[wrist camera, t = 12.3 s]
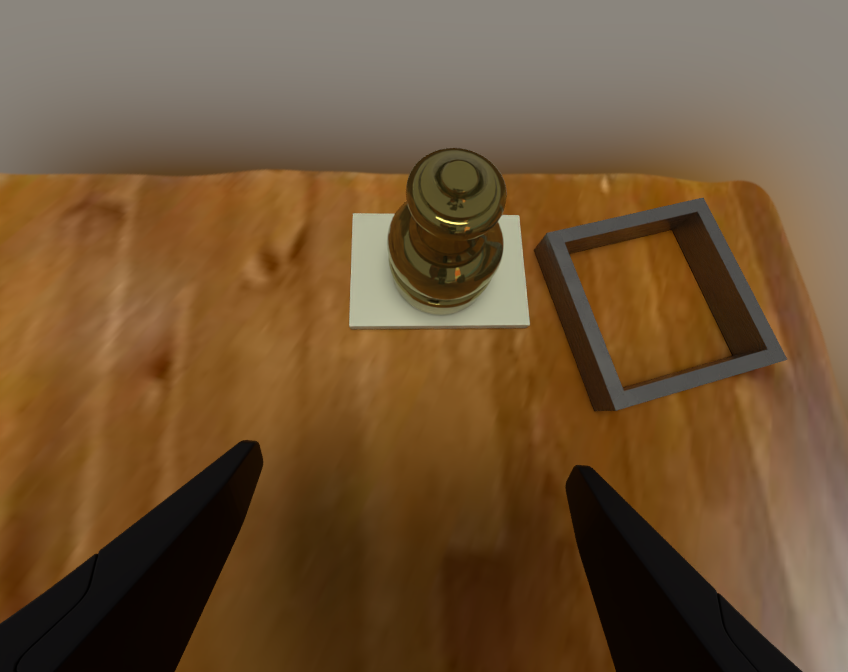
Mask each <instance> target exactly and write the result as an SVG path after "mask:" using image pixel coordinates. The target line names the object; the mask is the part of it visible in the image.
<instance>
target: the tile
mask: <svg viewBox="0 0 848 672" xmlns="http://www.w3.org/2000/svg"><path fill="white" fill-rule="evenodd" d="M394 215H395V214H357V213H353V229H352V259H351V289H350V319H349V327H350V328H351V329H442V328H527V327H528V326H529V325H530V322H529V312H528V301H527V291H526V281H525V271H524V261H523V251H522V241H521V230H520V220H519V215H502V216H501V218H500V219H499V221H498V222H499V224H500V227H501V230H502V233H503V239H504V251H503V257H502V261H501V263H500V266H499V268H498V270H497V272H496V273H495V275H494V276H493V277H492V279H491V281H490V283H489V285H488V286H487V288H486V289H485V290H484V291H483V292H482V294H481V295H480V297H479V298H478V299H477V300H476V301H475V302H474V303H473V304H472V305H470V306H469V307H467V308H466V309H464V310H462V311H459V312H456V313H452V314H446V315H437V314H430V313H426V312H423V311H421V310H419V309H417V308H415V307H413V306H412V305H410V304H409V303H408V302H407V301H406V300H405V299H404V298H403V297H402V296H401V295H400V294H399V292H398V291H397V289H396V287H395V285H394V282H393V279H392V275H391V270H390V266H389V255H388V250H387V233H388V229H389V225H390V223H391V220H392V218H393V216H394Z"/></svg>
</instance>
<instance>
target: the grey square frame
mask: <svg viewBox="0 0 848 672" xmlns="http://www.w3.org/2000/svg"><path fill="white" fill-rule="evenodd" d="M668 230H673V232H674V235H675V237H676V239H677V241H678V243H679V245H680V247H681V249H682V251H683V253H684V255H685V257H686V259H687V261H688V264H689V266H690V268H691V270H692V272H693V274H694V276H695V278H696V280H697V282H698V284H699V286H700V288H701V290H702V293H703V295H704V297H705V299H706V301H707V303H708V305H709V307H710V309H711V311H712V313H713V315H714V317H715V319H716V321H717V324H718V326H719V328H720V330H721V332H722V334H723V336H724V338H725V340H726V342H727V344H728V346H729V348H730V350H731V353H732V355H733V356H730V357H727V358H724V359H720V360H717V361H713V362H710V363H706V364H703V365H699V366H696V367H692V368H689V369H686V370H682V371H679V372H675V373H672V374H668V375H665V376H661V377H658V378H654V379H651V380H648V381H644V382H641V383H637V384H634V385H630V386H627V387H623V388H622V385H621V383H620V380H619V378H618V375H617V373H616V370H615V368H614V365H613V363H612V360H611V358H610V355H609V353H608V350H607V348H606V345H605V343H604V340H603V338H602V335H601V333H600V330H599V328H598V325H597V323H596V320H595V318H594V315H593V313H592V310H591V308H590V305H589V303H588V300H587V298H586V295H585V293H584V290H583V288H582V285H581V283H580V280H579V278H578V275H577V273H576V270H575V268H574V265H573V263H572V260H571V257H570V255H569V254H570V253H575V252H579V251H583V250H587V249H592V248H596V247H600V246H604V245H609V244H613V243H617V242H621V241H625V240H630V239H634V238H638V237H642V236H647V235H651V234H655V233H659V232H664V231H668ZM534 251H535V254H536V256H537V259H538V262H539V264H540V267H541V270H542V272H543V275H544V278H545V280H546V283H547V286H548V288H549V291H550V294H551V296H552V299H553V302H554V304H555V307H556V310H557V312H558V315H559V318H560V320H561V323H562V326H563V328H564V331H565V334H566V336H567V339H568V342H569V344H570V347H571V350H572V352H573V355H574V358H575V360H576V363H577V366H578V368H579V371H580V374H581V376H582V379H583V382H584V384H585V387H586V390H587V392H588V395H589V398H590V400H591V403H592V406H593V408H594V411H616V410H619V409H623V408H626V407H629V406H633V405H636V404H640V403H643V402H646V401H650V400H653V399H656V398H660V397H663V396H667V395H670V394H673V393H677V392H680V391H683V390H687V389H690V388H693V387H697V386H700V385H704V384H707V383H710V382H714V381H717V380H720V379H724V378H727V377H731V376H734V375H737V374H741V373H744V372H747V371H751V370H754V369H757V368H761V367H764V366H768V365H771V364H774V363H778V362H781V361H784V360H787V358H786V356H785V354H784V352H783V350H782V348H781V346H780V344H779V343H778V341H777V339H776V337H775V335H774V333H773V331H772V329H771V327H770V325H769V323H768V321H767V319H766V317H765V315H764V314H763V312H762V310H761V308H760V306H759V304H758V302H757V300H756V298H755V296H754V294H753V292H752V290H751V288H750V287H749V285H748V283H747V281H746V279H745V277H744V275H743V273H742V271H741V269H740V267H739V265H738V263H737V261H736V260H735V258H734V256H733V254H732V252H731V250H730V248H729V246H728V244H727V242H726V240H725V238H724V236H723V234H722V233H721V231H720V229H719V227H718V225H717V223H716V221H715V219H714V217H713V215H712V213H711V211H710V209H709V207H708V206H707V204H706V202H705V200H704V198H699V199H695V200H691V201H686V202H682V203H677V204H673V205H669V206H664V207H660V208H655V209H651V210H647V211H642V212H638V213H633V214H629V215H625V216H620V217H616V218H611V219H607V220H603V221H598V222H594V223H589V224H585V225H581V226H576V227H572V228H567V229H563V230H558V231H554V232H550V233H547V234H546V235H545V236H544V238H543V239H542V240H541V242H540V243H539V244H538V245H537V247H536V248H535V249H534Z"/></svg>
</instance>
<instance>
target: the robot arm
mask: <svg viewBox="0 0 848 672" xmlns="http://www.w3.org/2000/svg"><path fill="white" fill-rule="evenodd" d="M262 467H263V457H262V453H261V449H260V445H259V443H258V442H257V441H251V440H243V441H241V442H239V443H238V444H236V445H235V446H234V447H233V448H231V449H230V450H229V451H227V452H226V453H225V454H224V455H222V456H221V457H220V458H218V459H217V460H216V461H214V462H213V463H212V464H211V465H209V466H208V467H207V468H205V469H204V470H203V471H202V472H200V473H199V474H198V475H196V476H195V477H194V478H193V479H191V480H190V481H189V482H187V483H186V484H185V485H184V486H182V487H181V488H180V489H178V490H177V491H176V492H174V493H173V494H172V495H171V496H169V497H168V498H167V499H165V500H164V501H163V502H162V503H160V504H159V505H158V506H156V507H155V508H154V509H153V510H151V511H150V512H149V513H147V514H146V515H145V516H143V517H142V518H141V519H140V520H138V521H137V522H136V523H134V524H133V525H132V526H131V527H129V528H128V529H127V530H125V531H124V532H123V533H122V534H120V535H119V536H118V537H116V538H115V539H114V540H113V541H111V542H110V543H109V544H107V545H106V546H105V547H103V548H102V549H101V550H100V551H99V553H98V554H94V555H93V556H92V557H90V558H89V559H88V560H87V561H85V562H84V563H83V564H81V565H80V566H79V567H77V568H76V569H75V570H74V571H72V572H71V573H70V574H68V575H67V576H66V577H64V578H63V579H62V580H60V581H59V582H58V583H56V584H55V585H54V586H52V587H51V588H50V589H48V590H47V591H46V592H44V593H43V594H41V595H40V596H39V597H37V598H36V599H34V600H33V601H32V602H30V603H29V604H27V605H26V606H25V607H23V608H22V609H20V610H19V611H18V612H16V613H15V614H13V615H12V616H10V617H9V618H8V619H6V620H5V621H3V622H2V623H0V672H175V670H176V668H177V666H178V663H179V661H180V659H181V657H182V655H183V653H184V651H185V648H186V646H187V644H188V642H189V640H190V638H191V635H192V633H193V631H194V629H195V627H196V625H197V622H198V620H199V618H200V616H201V614H202V612H203V609H204V607H205V605H206V603H207V601H208V599H209V596H210V594H211V592H212V590H213V588H214V586H215V583H216V581H217V579H218V577H219V575H220V573H221V571H222V568H223V566H224V564H225V562H226V560H227V558H228V555H229V553H230V551H231V549H232V547H233V545H234V542H235V540H236V538H237V536H238V534H239V531H240V529H241V527H242V525H243V522H244V519H245V517H246V514H247V511H248V508H249V505H250V502H251V499H252V496H253V494H254V491H255V488H256V485H257V482H258V479H259V476H260V473H261V470H262ZM566 494H567V499H568V504H569V509H570V513H571V518H572V523H573V528H574V533H575V538H576V542H577V546H578V550H579V553H580V557H581V560H582V563H583V566H584V569H585V573H586V576H587V579H588V582H589V586H590V589H591V592H592V595H593V598H594V602H595V605H596V608H597V611H598V614H599V618H600V621H601V624H602V627H603V631H604V634H605V637H606V640H607V643H608V647H609V650H610V653H611V656H612V659H613V663H614V666H615V669H616V672H802V671H801V670H800V669H799V668H798V667H797V666H796V665H794V664H793V663H792V662H791V661H790V660H789V659H788V658H787V657H786V656H785V655H784V654H782V653H781V652H780V651H779V650H778V649H777V648H776V647H775V646H774V645H773V644H771V643H770V642H769V641H768V640H767V639H766V638H765V637H764V636H763V635H762V634H761V633H760V632H759V631H758V630H757V629H755V628H754V627H753V626H752V625H751V624H750V623H749V622H748V621H747V620H746V619H745V618H744V617H743V616H742V615H741V614H740V613H739V612H738V611H737V610H736V609H735V608H734V607H733V606H732V605H731V604H730V603H729V602H728V601H727V600H726V599H725V598H724V597H723V596H722V595H721V594H719V593H717V592H716V590H715V589H714V588H713V587H712V586H711V585H710V584H709V583H708V582H707V581H706V580H705V579H704V578H703V577H702V576H701V575H700V574H699V573H698V572H697V571H696V570H695V569H694V568H693V567H692V566H691V565H690V564H689V563H688V562H687V561H686V560H685V559H684V558H683V557H682V556H681V555H680V554H679V553H678V552H677V551H676V550H675V549H674V548H673V547H672V546H671V545H670V544H669V543H668V542H667V541H666V540H665V539H664V538H663V537H662V536H661V535H660V534H659V533H658V532H657V531H656V530H655V529H654V528H653V527H652V526H651V525H650V524H649V523H648V522H647V521H646V520H644V519H643V518H642V517H641V516H640V515H639V514H638V513H637V512H636V511H635V510H634V509H633V508H632V507H631V506H630V505H629V504H628V503H627V502H626V501H625V500H624V499H623V498H622V497H621V496H620V495H619V494H618V493H617V492H616V491H615V490H614V489H613V488H612V487H611V486H610V485H609V484H608V483H607V482H606V481H605V480H604V479H603V478H602V477H601V476H600V475H599V474H598V473H597V472H596V471H595V470H594V469H593V468H591V467H590V466H584V465H576V466H574V468H573V469H572V471H571V473H570V475H569V477H568V479H567V481H566Z"/></svg>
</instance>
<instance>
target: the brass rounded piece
mask: <svg viewBox="0 0 848 672" xmlns="http://www.w3.org/2000/svg"><path fill="white" fill-rule="evenodd" d="M506 197H507V192H506V185H505V182H504V179H503V177H502V175H501V173H500V172H499V170H498V169H497V168H496V167H495V166H494V165H493V163H492V162H491V161H489V160H488V159H487V158H485V157H484V156H482V155H480V154H478V153H476V152H473V151H470V150H467V149H462V148H446V149H440V150H437V151H434V152H432V153H430V154H428V155H426V156H425V157H423V158H422V159H421V160H420V161H418V163H417V164H416V165H415V166H414V167H413V169H412V171H411V173H410V175H409V178H408V181H407V186H406V200H407V201H406V202H405V203H404V204H403V205H402V206H401V207H400V208H399V209H398V210H397V212H396V213H395V215H394V216H393V218H392V220H391V223H390V225H389V229H388V233H387V250H388V255H389V266H390V270H391V275H392V279H393V282H394V285H395V287H396V289H397V291H398V292H399V294H400V295H401V296H402V297H403V298H404V299H405V300H406V301H407V302H408V303H409V304H410V305H412V306H413V307H415V308H417V309H419V310H421V311H423V312H426V313H430V314H437V315H446V314H452V313H456V312H459V311H462V310H464V309H466V308H467V307H469V306H470V305H472V304H473V303H474V302H475V301H476V300H477V299H478V298H479V297H480V295H481V294H482V292H483V291H484V290H485V289H486V288H487V286H488V285H489V283H490V281H491V279H492V277H493V276H494V275H495V273H496V272H497V270H498V268H499V266H500V263H501V261H502V257H503V251H504V239H503V233H502V230H501V227H500V224H499V222H498V221H499V219H500V218H501V216H502V214H503V211H504V208H505V204H506Z"/></svg>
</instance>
